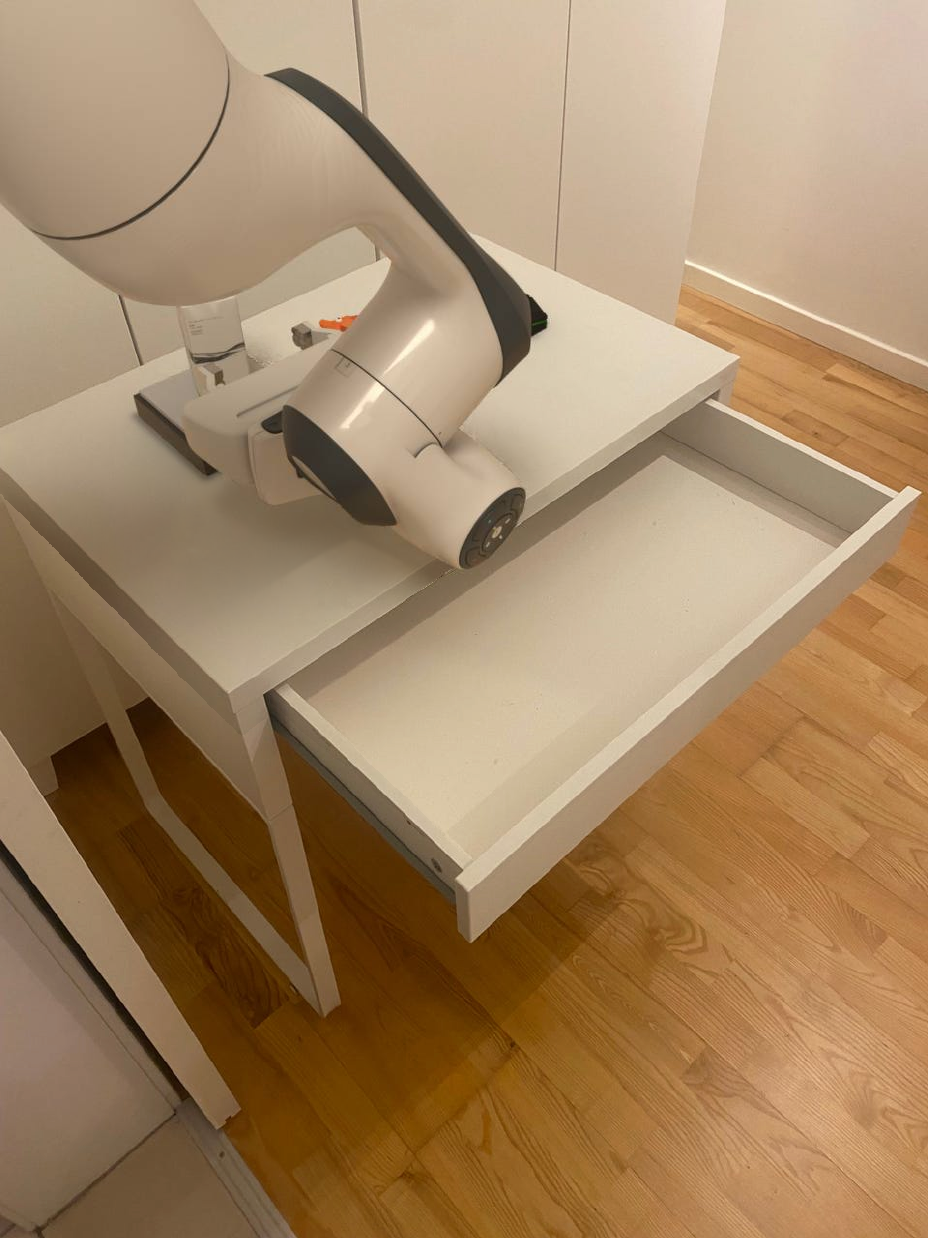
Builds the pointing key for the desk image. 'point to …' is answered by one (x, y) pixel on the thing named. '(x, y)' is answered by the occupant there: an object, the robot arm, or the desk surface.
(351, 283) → the desk surface
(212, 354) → the ink box
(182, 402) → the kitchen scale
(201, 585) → the desk surface
